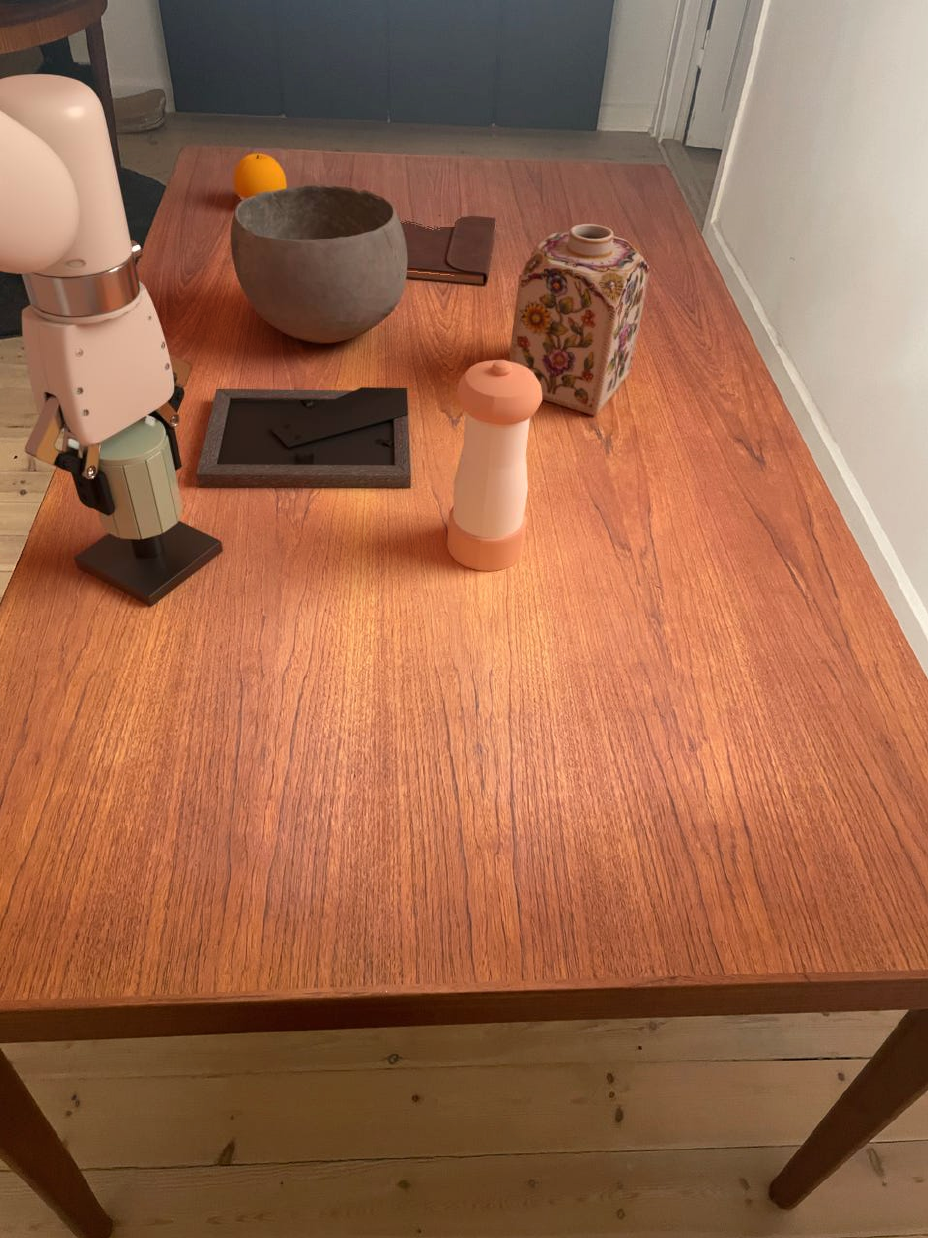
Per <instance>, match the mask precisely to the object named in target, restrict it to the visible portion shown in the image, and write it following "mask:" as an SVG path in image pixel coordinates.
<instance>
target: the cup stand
mask: <svg viewBox="0 0 928 1238" xmlns="http://www.w3.org/2000/svg"><path fill="white" fill-rule="evenodd" d="M223 548H224V547H223V542H222V540H220V539H217V538H215V537H214V536H212V535H210V534H208V533H205V532H203V531H201V530H199V529H198V528H195V527H193V526H191V525H189V524H186V523H185V522H183V521H180V520H179V521H178V522H177V524H175V525H174V526H173V527H171V528H170V529H168V530H167V531H166V532H164V533H162V534H159V535H156V536H152V537H148V538H145V539H123V538H120V537H119V538H118V537H116V536H114V535H112V534H110V533H107V534H106V535H104V536H103V537H101V538H100V539H98V540H97V541H95V542H94V543H92V544H91V545H89V546H88V547H86V548H85V549H84V550H82V551H81V552H79V553H78V554H76V555H75V556H74V557H73V559H74V562H75V565H76V568H77V569H79V570H82V571H83V572H85V573H87V574H89V575H91V576H93V577H95V578H97V579H99V580H101V581H102V582H104V583H106V584H108V585H110V586H112V587H114V588H116V589H117V590H120V591H121V592H123V593H125V594H126V595H129V596H130V597H132V598H134V599H136V600H138V601H140V602H142V603H144V604H145V605H147V606H149V607H151V608H152V607H153V606H155V605H156V604H157V603H158V602H160V601H161V600H162V599H163V598H165V597H166V596H167V595H168V594H170V593H172V591H174V590H175V589H176V588H178V587H179V586H180V585H181V584H183V583H184V582H185V581H187V580H188V579H189V578H190V577H192V576H193V575H194V574H195V573H197V572H198V571H200V570H201V569H202V568H203V567H204V566H206V565H207V564H208V563H209V562H211V561H212V560H214V559H215V558H216V557H217V556H219V555H220V554H221V553H222V552H223V551H224V549H223Z"/></svg>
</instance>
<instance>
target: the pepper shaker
mask: <svg viewBox="0 0 928 1238" xmlns="http://www.w3.org/2000/svg"><path fill="white" fill-rule="evenodd" d="M509 361H510V360H507V359H494V360H485V361H480V362H477V363H475V364H474V365H472V366H470V367H469V368H468V369H467V370H466V371H465V372H464V373H463V375H462V376H461V377H460V379H459V382H458V384H457V387H456V388H457V389H456V396H457V399H458V401H459V403H460V406H461V407H462V409H463V411H464V412H465V417H464V429H463V444H462V449H461V453H460V455H459V456H460V457H459V460H458V464H457V468H456V472H455V477H454V481H453V504H452V507H451V508H450V510H449V512H448V523H447V541H446V547H447V551H448V553H449V555H450V556H451V557H452V558H453V559H454V560H455V561H456V562H457V563H459V564H461V565H462V566H464V567H466V568H468V569H471V570H475V571H485V572H494V571H501V570H504V569H507V568H509V567H511V566H514V564H516V563H517V562H518V561H519V560H520V559H521V558H522V555H523V553H524V548H525V541H526V532H527V526H528V525H527V524H528V520H527V515H526V513H525V511H526V504H527V498H528V492H529V491H528V490H529V489H528V487H529V486H528V470H527V469H528V467H527V447H528V439H529V430H530V429H529V428H530V421H531V418H532V417H533V416H534V415H535V413H536V412H537V411H538V409H539V407H540V406H541V404H542V402H543V399H542V389H541V385H540V383H539V381H538V380H537V378H536V376H535V375H534V373H533V372H532V371H531V370H529V369H528V368H527V367H525V366H522V365H520V364H518V363H514V362H509Z"/></svg>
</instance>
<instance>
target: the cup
mask: <svg viewBox="0 0 928 1238" xmlns="http://www.w3.org/2000/svg"><path fill="white" fill-rule="evenodd" d="M83 449H84V446H81V445H80V447H79V454H78V457H81V458H82V456H83ZM98 470H99V471H102V472H104V473H105V474H106V477H107V480H108V484H109V488H110V491H111V495H112V499H113V502H114V506H115V510H114V511H115V512H114V513H113V514H111V515H110V516H107V515H105V514H103V513H101V512H99V511H97V510H95V511H96V514H97V518H98V520H99V523H100V525H101V528H102V530H103V531H104V532H106V533H107V534H109V533H110V534H112V535H114V536H116V537H118V538H119V537H120V538H123V539H145V538H148V537H152V536H156V535H159V534H162V533H164V532H166V531H167V530H168V529H170V528H171V527H173V526H174V525H175V524H177V522H178V521H180V518H181V516H182V514H183V510H184V508H183V502H182V498H181V493H180V488H179V484H178V478H177V473H176V470H175V468H174V464H173V459H172V454H171V449H170V444H169V439H168V436H167V435H166V431H165V427H164V426H163V424H162V423H161V422H160V421H159V420H157V419H156V418H154V417H151V416H149V415H146V416H145V417H143V418H141V419H140V420H138V421H136V422H135V423H133V424H131V425H130V426H128V427H126V428H125V429H123V430H121V431H120V432H118V433H116V434H114V435H113V436H111V437H109V438H108V439H106V440H104V441H102V445H101V451H100V458H99V465H98Z"/></svg>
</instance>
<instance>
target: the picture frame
mask: <svg viewBox="0 0 928 1238" xmlns="http://www.w3.org/2000/svg"><path fill="white" fill-rule="evenodd" d="M410 447H411V446H410V427H409V404H408V387H379V386H376V387H375V386H373V387H370V386H362V387H359V388H357V389H355V390H351V389H349V390H348V389H347V390H346V389H345V390H343V389H342V390H341V389H272V388H271V389H268V388H265V389H264V388H263V389H262V388H260V389H259V388H216V389H215V392H214V397H213V402H212V406H211V410H210V415H209V419H208V423H207V428H206V431H205V436H204V440H203V445H202V448H201V452H200V457H199V461H198V466H197V470H196V480H197V485H198V488H287V489H288V488H290V489H291V488H295V489H296V488H297V489H300V488H302V489H305V488H306V489H307V488H309V489H310V488H311V489H313V488H314V489H315V488H316V489H317V488H321V489H323V488H324V489H325V488H326V489H327V488H328V489H329V488H330V489H331V488H332V489H343V488H344V489H347V488H348V489H412V488H411V487H412V470H411V469H412V468H411V448H410Z"/></svg>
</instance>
